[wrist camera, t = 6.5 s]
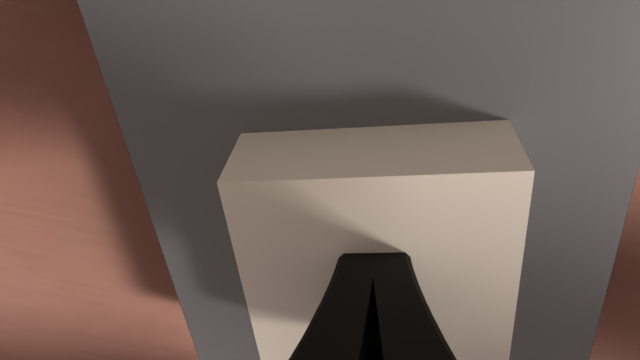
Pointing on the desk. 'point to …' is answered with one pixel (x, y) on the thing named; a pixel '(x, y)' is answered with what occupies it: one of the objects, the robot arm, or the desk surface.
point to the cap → (382, 223)
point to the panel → (381, 110)
